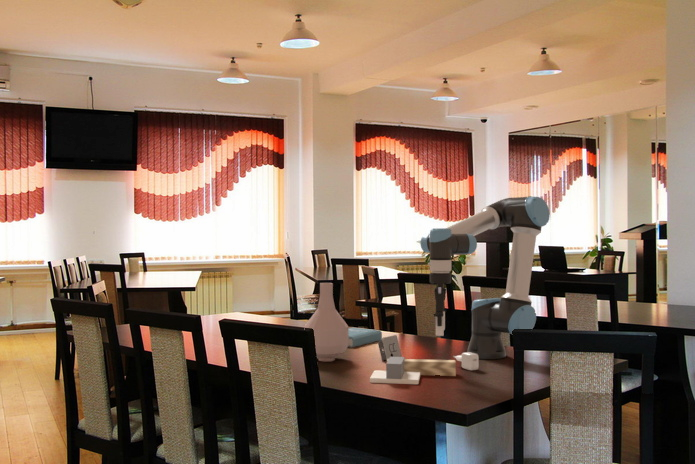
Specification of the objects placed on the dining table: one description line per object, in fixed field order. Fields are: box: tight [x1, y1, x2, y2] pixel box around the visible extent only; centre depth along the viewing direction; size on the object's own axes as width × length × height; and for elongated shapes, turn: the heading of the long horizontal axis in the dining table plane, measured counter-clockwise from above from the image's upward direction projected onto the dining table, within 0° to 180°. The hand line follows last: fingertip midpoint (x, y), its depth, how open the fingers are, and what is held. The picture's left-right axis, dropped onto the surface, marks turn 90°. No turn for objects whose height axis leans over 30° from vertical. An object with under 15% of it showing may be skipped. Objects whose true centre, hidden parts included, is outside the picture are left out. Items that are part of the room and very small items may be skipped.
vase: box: [304, 282, 349, 362], centre depth 253 cm, size 18×18×30 cm
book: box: [347, 327, 383, 348], centre depth 292 cm, size 23×16×5 cm
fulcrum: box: [369, 356, 421, 385], centre depth 219 cm, size 16×12×6 cm
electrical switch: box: [377, 334, 403, 361], centre depth 254 cm, size 9×5×9 cm, turn 141°
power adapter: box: [452, 351, 480, 371], centre depth 238 cm, size 11×5×6 cm, turn 28°
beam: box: [386, 358, 457, 377], centre depth 228 cm, size 24×4×5 cm, turn 83°
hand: (440, 332), depth 227 cm, fingers open, 13 cm apart
